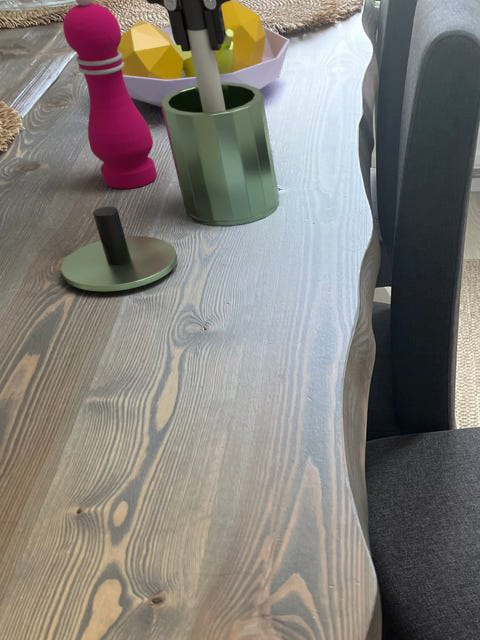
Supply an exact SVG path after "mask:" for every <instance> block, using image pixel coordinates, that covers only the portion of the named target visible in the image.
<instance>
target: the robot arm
mask: <svg viewBox="0 0 480 640" xmlns="http://www.w3.org/2000/svg"><path fill="white" fill-rule="evenodd" d="M145 1H146V2H147V3H148V4H150V5H154V4H156V5H159V6H161V7H163V8H164V9H165V10H166V12H167V15H168V21H169V24H170V27H171V30H172V34H173V39H174V41H175V43H176V45H181V49H182V51H183V52H185V51H190V45H189V40H188V35H187V30H186V27H185V22H184V18H183V13H182V8H181V3H180V0H145ZM203 1H204V4H205V6H206V9H205V10H204V13H205V18H206V23H207V28H208V34H209V39H210V44H211V49H212V51H218V50H220V49H221V47H222V44H223V43H224V41H225V39H226V30H225V25H224V19H223V14H222V8H221V6H222V4H223V3H225V2H228V1H231V0H203Z"/></svg>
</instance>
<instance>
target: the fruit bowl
mask: <svg viewBox="0 0 480 640" xmlns="http://www.w3.org/2000/svg"><path fill="white" fill-rule="evenodd" d="M221 8H222V14H223V19H224V25H225V30H226V39H225V41H224V43H223V44H222V47H221V49H220V50H218V51H215V56H216V61H217V66H218V72H219V77H220V82H221V83H224V82H229V83H230V82H231V83H240V84H247V85H250V86H252V87H255V88H258V89H259V90H260V91H261V89H263V88H265V87H266V86H268V85H270V84H271V83H272V82H274V81H276V80H278V79H279V78H280V76H281V72H282V69H283V66H284V62H285V59H286V55H287V53H288V52H287V51H288V48H289V45H290V41H291V40H290V39H289V38H286V36H283V35H282V34H279V33H277V32H275V31H274V30H272V29H270V28H268V27H266V26H264V25H263V22H262V20H261V16H260V15H259V14H258V13H256V12H255V11H253V10H252V9H250V8H248V7H247V6H245V5H244V4H243V3H241V2H240V1H238V0H231V1H228V2H225V3H223V4H222V6H221ZM117 51H119V52H121V54H122V61H123V62H124V67H123V68H122V73H123V78H124V82H125V85H126V88H127V91H128V93H129V95H130V97H131V99H132V100H133V99H134V100H136V101H140V102H143V103H147V104H149V105H152V106H156V107H159V108H162V107H161V102H162V100H163V98H164V97H165V96H167V95H169V94H170V93H172V92H174V91H176V90H179V89H182V88H186V87H189V86H193V85H198V84H197V79H196V74H195V69H194V64H193V59H192V54H191V50H190V51H185V52H183V51H182V49H181V45H176V43H175V41H174V39H173V34H172V30H171V26H167V27H158V26H156V25H153V24H152V23H150V22H148V21H143V20H138V21H136V22H135V23H134V24H133V25H132V26H130V28H128V29H127V30H126V31H125V32H124V33H123V34H121V41H120V44H119V46H118V49H117Z"/></svg>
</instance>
